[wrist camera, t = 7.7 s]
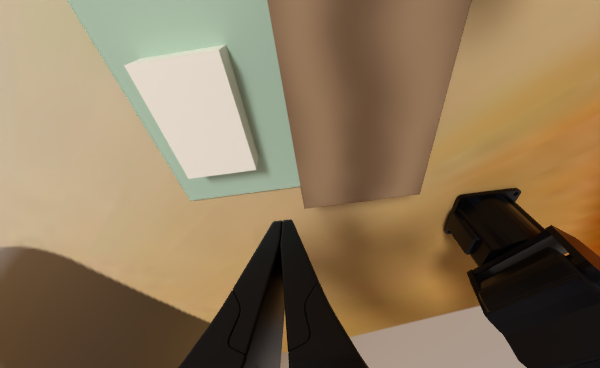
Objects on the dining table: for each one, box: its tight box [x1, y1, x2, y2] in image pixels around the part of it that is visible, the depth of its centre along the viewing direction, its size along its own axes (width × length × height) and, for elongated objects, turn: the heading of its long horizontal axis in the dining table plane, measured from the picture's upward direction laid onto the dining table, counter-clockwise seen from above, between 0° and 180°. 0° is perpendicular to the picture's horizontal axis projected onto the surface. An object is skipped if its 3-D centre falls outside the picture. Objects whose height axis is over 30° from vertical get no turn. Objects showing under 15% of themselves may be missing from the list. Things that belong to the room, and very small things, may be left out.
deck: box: [267, 0, 471, 209], centre depth 16 cm, size 10×16×4 cm, turn 8°
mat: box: [67, 0, 300, 201], centre depth 18 cm, size 12×17×1 cm
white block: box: [124, 45, 259, 179], centre depth 18 cm, size 6×9×2 cm, turn 7°
